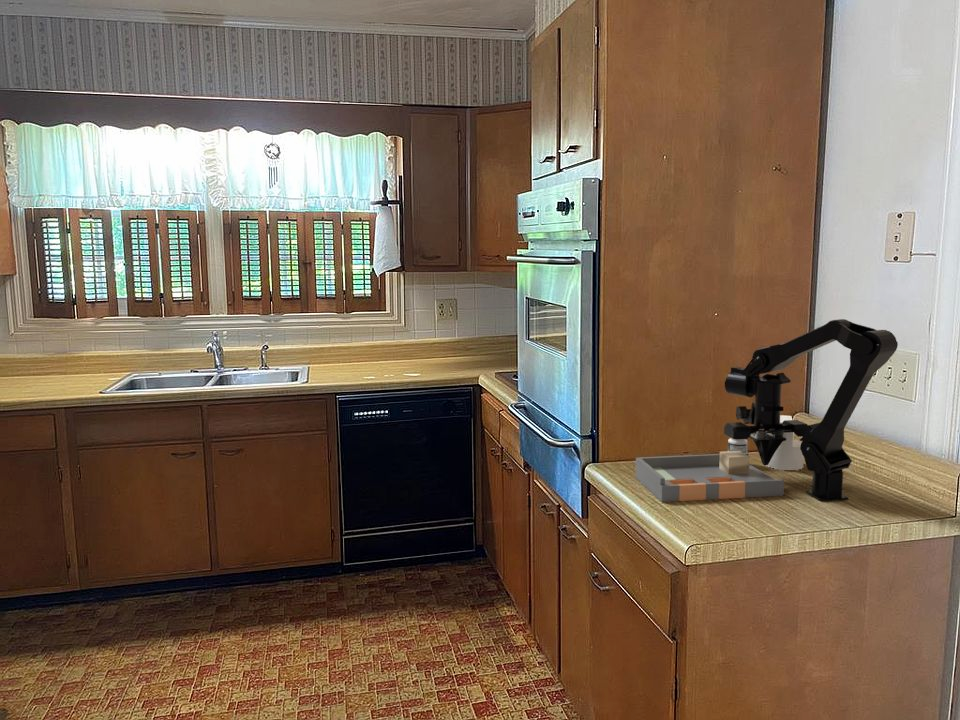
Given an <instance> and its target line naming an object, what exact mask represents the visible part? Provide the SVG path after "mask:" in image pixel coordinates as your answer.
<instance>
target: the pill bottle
mask: <svg viewBox="0 0 960 720" xmlns="http://www.w3.org/2000/svg"><path fill="white" fill-rule="evenodd" d="M748 443H749V442H748V439H733V438H731V437H729V438H728V440H727V451H741V452H743V453H748V447H749V446H748V445H749V444H748Z"/></svg>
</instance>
